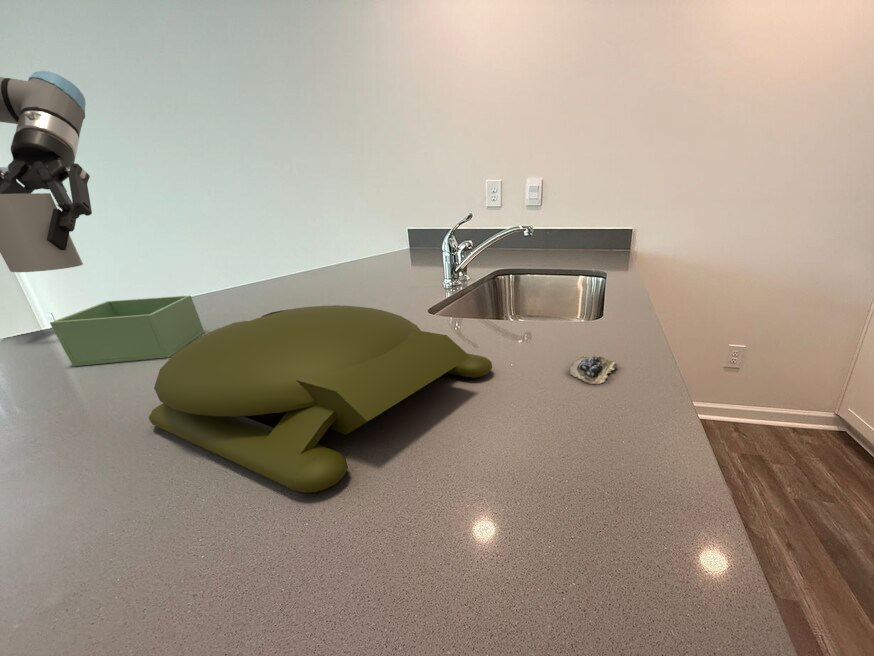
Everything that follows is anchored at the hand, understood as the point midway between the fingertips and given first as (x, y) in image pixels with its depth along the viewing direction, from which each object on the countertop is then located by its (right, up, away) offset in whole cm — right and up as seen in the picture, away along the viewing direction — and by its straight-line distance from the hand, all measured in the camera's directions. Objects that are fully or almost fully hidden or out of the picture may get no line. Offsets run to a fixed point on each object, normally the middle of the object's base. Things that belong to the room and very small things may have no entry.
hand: (21, 246), depth 68 cm
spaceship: (+58, -24, -15) cm, 65 cm away
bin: (+19, -17, +2) cm, 26 cm away
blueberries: (+94, -22, -11) cm, 97 cm away
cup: (-1, -2, +5) cm, 5 cm away
